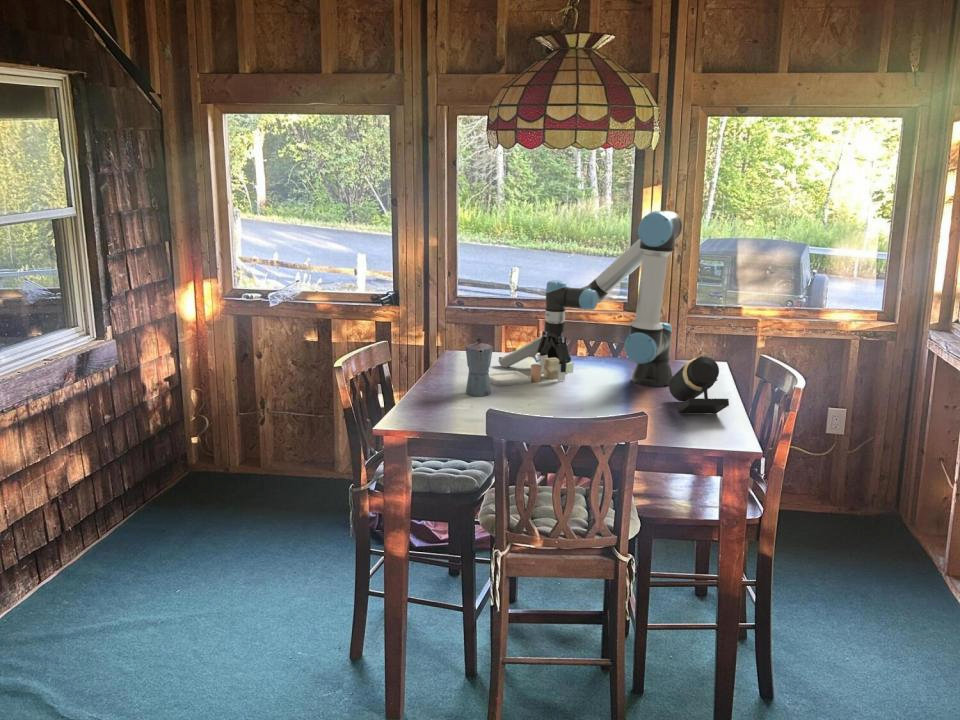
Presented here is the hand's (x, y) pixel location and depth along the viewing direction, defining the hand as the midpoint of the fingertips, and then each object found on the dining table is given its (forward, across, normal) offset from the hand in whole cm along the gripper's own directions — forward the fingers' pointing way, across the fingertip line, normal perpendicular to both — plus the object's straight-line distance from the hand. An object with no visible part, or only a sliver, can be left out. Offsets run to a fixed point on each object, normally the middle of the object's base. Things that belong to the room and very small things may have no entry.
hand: (552, 376), depth 344 cm
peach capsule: (0, +3, -9) cm, 9 cm away
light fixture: (0, +57, +22) cm, 61 cm away
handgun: (+1, -15, +1) cm, 15 cm away
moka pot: (+1, +11, -37) cm, 39 cm away
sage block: (0, -5, +9) cm, 10 cm away
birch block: (0, 0, 0) cm, 0 cm away
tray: (0, -1, -19) cm, 19 cm away
